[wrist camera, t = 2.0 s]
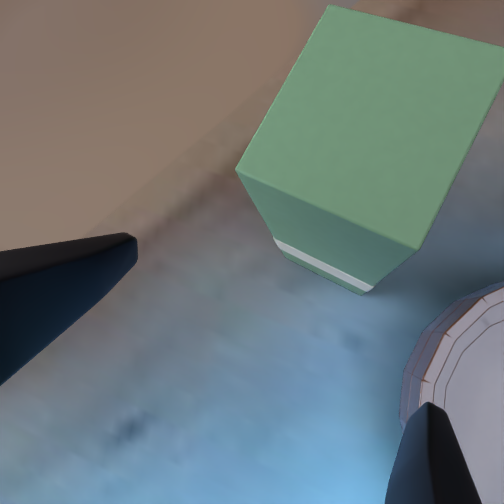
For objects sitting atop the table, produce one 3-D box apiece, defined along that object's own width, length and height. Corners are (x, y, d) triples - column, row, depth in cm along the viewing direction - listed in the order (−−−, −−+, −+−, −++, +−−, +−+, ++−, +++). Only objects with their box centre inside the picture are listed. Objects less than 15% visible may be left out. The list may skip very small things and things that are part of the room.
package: (361, 297, 20) (420, 253, 8) (284, 257, 22) (231, 170, 10) (405, 212, 21) (522, 48, 9) (326, 179, 23) (328, 1, 10)
